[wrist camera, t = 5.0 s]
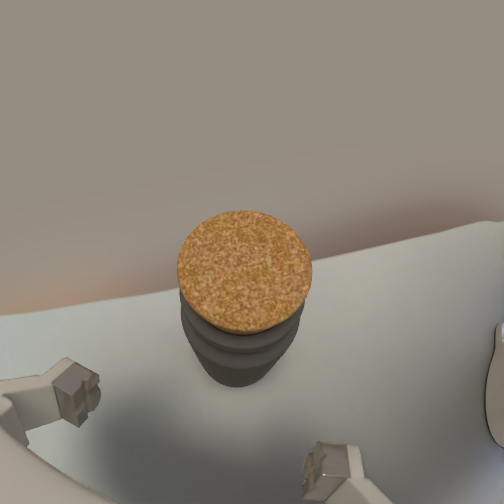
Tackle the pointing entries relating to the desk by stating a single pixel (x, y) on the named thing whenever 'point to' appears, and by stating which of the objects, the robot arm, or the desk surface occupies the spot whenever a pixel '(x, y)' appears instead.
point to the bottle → (242, 293)
